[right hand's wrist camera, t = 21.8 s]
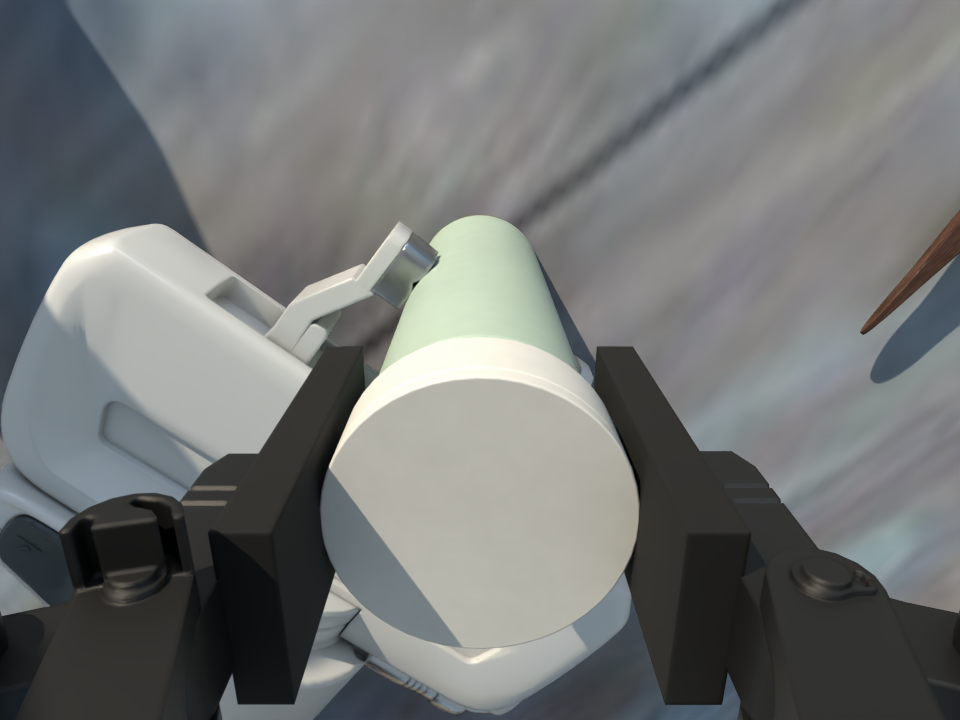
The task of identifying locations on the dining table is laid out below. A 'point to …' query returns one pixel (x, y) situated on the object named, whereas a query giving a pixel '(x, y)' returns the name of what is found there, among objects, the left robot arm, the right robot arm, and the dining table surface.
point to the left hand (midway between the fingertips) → (497, 299)
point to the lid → (479, 496)
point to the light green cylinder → (481, 293)
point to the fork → (920, 271)
